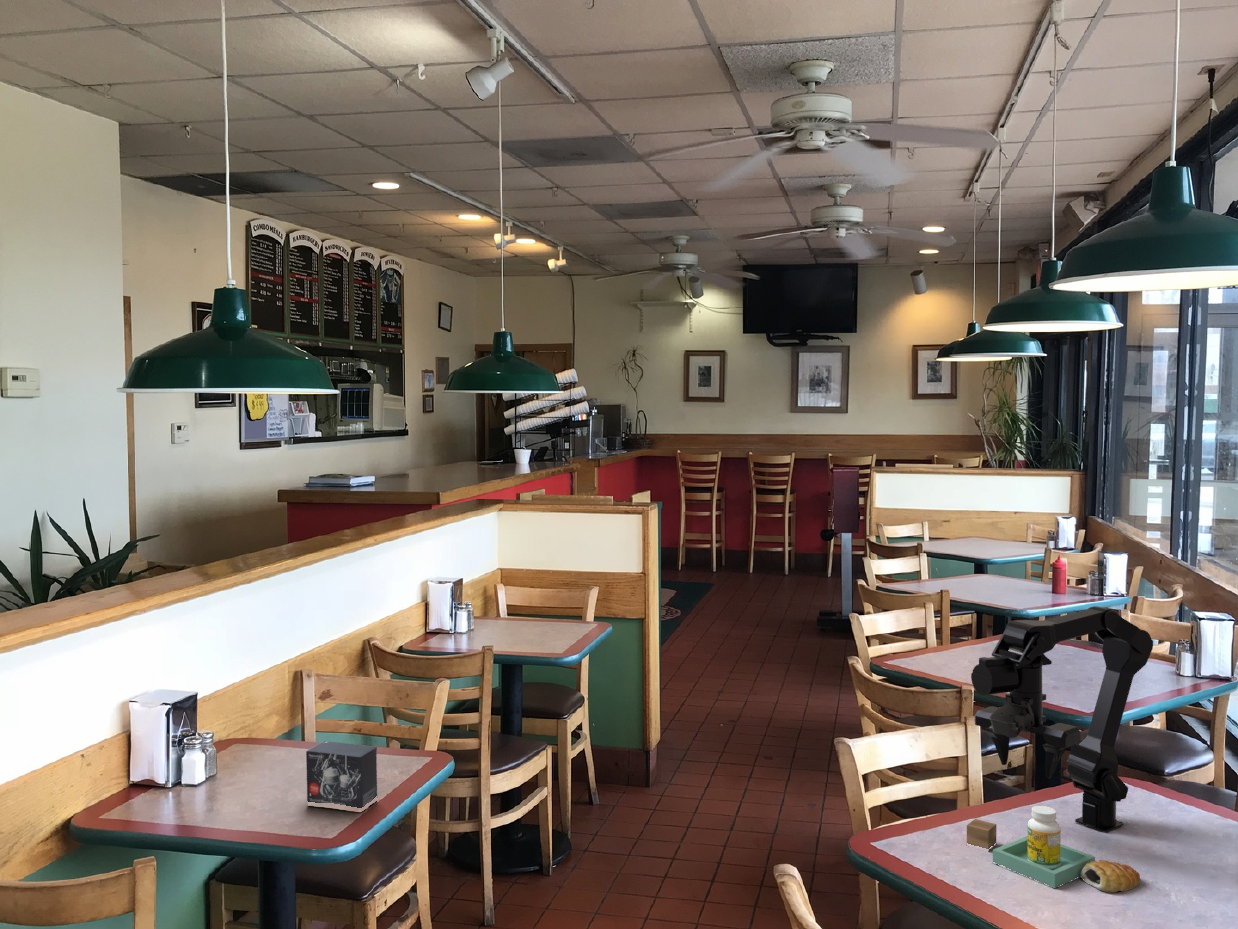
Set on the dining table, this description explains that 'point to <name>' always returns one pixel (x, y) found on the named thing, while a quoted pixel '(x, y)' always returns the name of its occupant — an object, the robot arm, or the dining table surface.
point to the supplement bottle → (1044, 838)
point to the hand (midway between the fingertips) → (1026, 771)
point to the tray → (1017, 861)
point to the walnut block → (981, 833)
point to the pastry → (1110, 876)
